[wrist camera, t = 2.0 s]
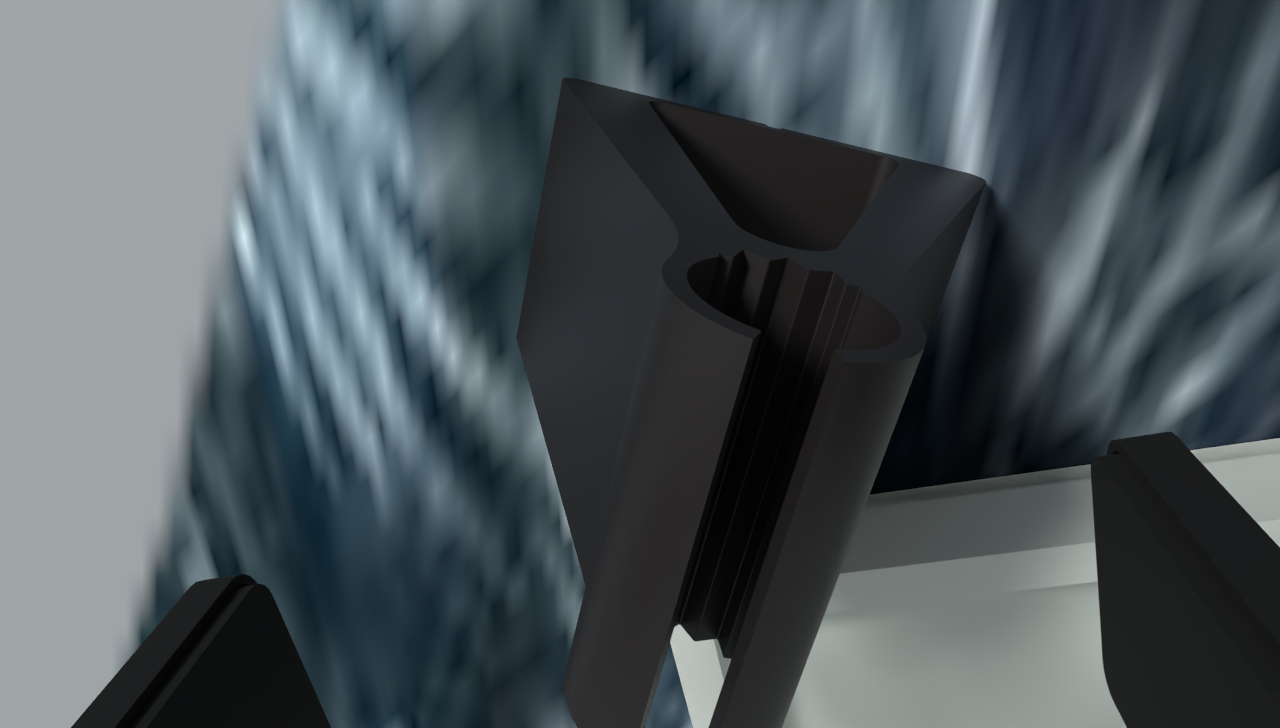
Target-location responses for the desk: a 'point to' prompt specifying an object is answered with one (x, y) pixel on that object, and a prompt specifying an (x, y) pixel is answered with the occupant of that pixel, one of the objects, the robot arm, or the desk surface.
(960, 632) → the tray
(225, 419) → the desk surface
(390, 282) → the desk surface
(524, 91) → the desk surface
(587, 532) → the phone stand
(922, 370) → the desk surface
